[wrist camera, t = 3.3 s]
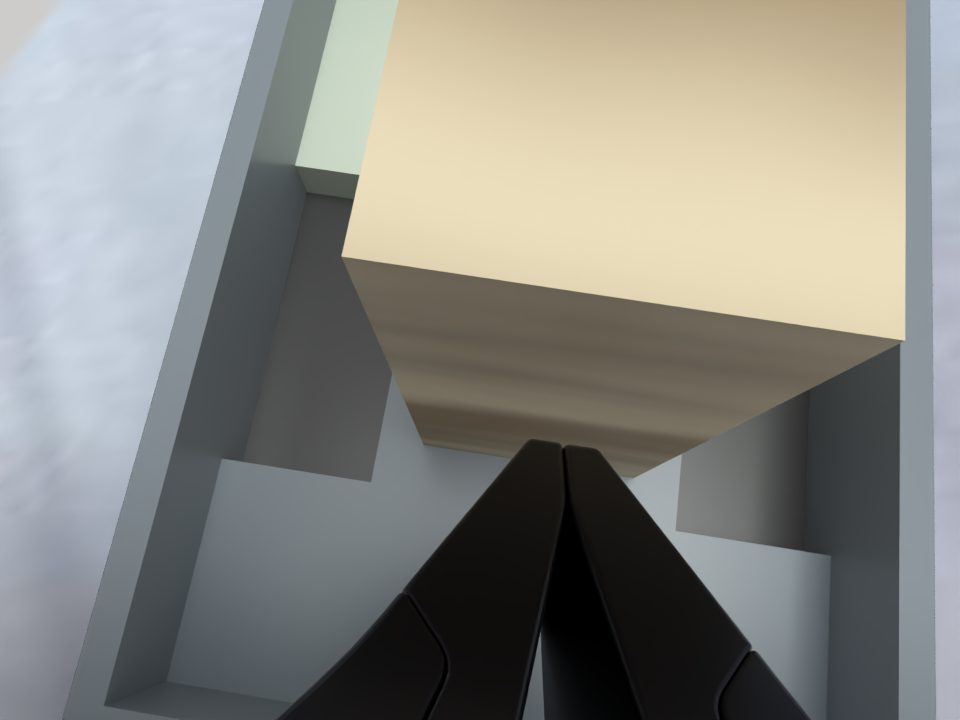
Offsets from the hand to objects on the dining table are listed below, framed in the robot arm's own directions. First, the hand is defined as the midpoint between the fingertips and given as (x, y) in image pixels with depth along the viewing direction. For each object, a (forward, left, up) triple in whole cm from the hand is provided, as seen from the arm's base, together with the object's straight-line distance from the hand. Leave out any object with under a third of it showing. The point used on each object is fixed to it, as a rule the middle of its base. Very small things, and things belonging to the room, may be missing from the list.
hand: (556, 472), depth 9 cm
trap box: (+4, 0, -8) cm, 9 cm away
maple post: (+3, 0, -7) cm, 7 cm away
